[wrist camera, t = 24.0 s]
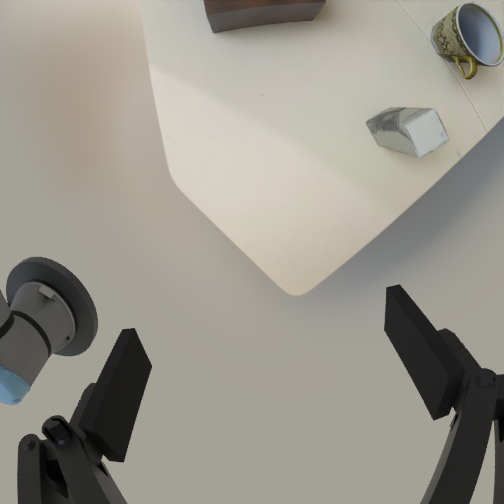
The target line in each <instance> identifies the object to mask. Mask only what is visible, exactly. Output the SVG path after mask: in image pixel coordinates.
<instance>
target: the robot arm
mask: <svg viewBox="0 0 504 504" xmlns="http://www.w3.org/2000/svg"><path fill="white" fill-rule="evenodd" d="M76 331H77V320H76V316H75V313H74V311H73V308H72V307H71V305H70V303H69V302H68V300H67V299H66V298H65V297H64V295H63V294H62V293H61V292H60V291H59V290H57V289H56V288H55V287H53V286H52V285H50V284H48V283H46V282H44V281H40V280H30V281H27V282H26V283H24V284H23V285H22V286H21V287H20V288H19V289H18V291H17V293H16V295H15V297H14V299H13V302H12V304H8V303H7V302H6V300H5V298H4V296H3V294H2V292H1V290H0V402H2V403H5V404H9V405H14V404H18V403H19V402H20V401H21V400H22V399H23V398H24V396H25V395H26V394H27V392H29V390H30V387H31V386H32V384H33V382H34V381H35V379H36V377H37V376H38V374H39V373H40V371H41V369H42V368H43V366H44V365H45V363H46V361H47V360H48V358H49V357H50V355H51V354H53V353H55V352H56V351H58V350H60V349H61V348H63V347H65V346H66V345H67V344H68V343H70V342H71V340H72V339H73V337H74V336H75V334H76ZM384 331H385V332H386V334H387V336H388V337H389V339H390V341H391V343H392V344H393V346H394V348H395V350H396V351H397V353H398V355H399V357H400V358H401V360H402V362H403V364H404V366H405V367H406V369H407V371H408V373H409V375H410V377H411V378H412V380H413V382H414V384H415V386H416V388H417V389H418V391H419V393H420V395H421V397H422V399H423V400H424V403H425V405H426V407H427V409H428V411H429V413H430V415H431V417H432V418H433V420H436V419H439V418H442V417H444V416H447V415H449V413H450V410H451V408H452V406H453V408H454V410H455V412H456V414H455V416H454V418H453V420H452V422H451V425H450V427H451V429H450V432H449V435H448V437H447V440H446V443H445V446H444V449H443V452H442V454H441V457H440V459H439V462H438V465H437V467H436V470H435V472H434V474H433V477H432V479H431V481H430V484H429V486H428V488H427V490H426V493H425V495H424V497H423V499H422V501H421V503H420V504H469V503H470V500H471V498H472V495H473V492H474V489H475V486H476V483H477V480H478V477H479V473H480V470H481V467H482V463H483V460H484V455H485V452H486V448H487V444H488V440H489V436H490V431H491V426H492V421H493V420H494V431H495V483H494V500H493V504H504V374H502V375H496V373H494V372H493V371H492V370H489V369H486V368H481V367H480V366H479V364H478V363H477V362H476V360H475V359H474V358H473V356H472V355H471V354H470V353H469V351H468V350H467V349H466V348H465V346H464V345H463V344H462V343H461V342H460V340H459V338H458V337H457V336H456V335H455V333H453V332H451V331H450V330H448V329H446V328H445V329H442V330H439V331H437V330H436V329H435V328H434V326H433V325H432V324H431V323H430V321H429V320H428V319H427V318H426V316H425V315H424V314H423V313H422V311H421V310H420V309H419V308H418V306H417V305H416V304H415V302H414V301H413V300H412V299H411V298H410V296H409V295H408V294H407V293H406V291H405V290H404V289H403V288H402V287H401V285H395V286H390V287H387V288H386V309H385V326H384ZM151 368H152V365H151V363H150V361H149V359H148V356H147V354H146V353H145V350H144V348H143V346H142V344H141V342H140V339H139V337H138V335H137V332H136V330H135V328H131V329H123V330H122V331H121V333H120V335H119V337H118V339H117V341H116V343H115V345H114V347H113V349H112V351H111V353H110V356H109V357H108V359H107V361H106V363H105V365H104V368H103V370H102V372H101V374H100V376H99V378H98V380H97V382H96V383H91V384H90V385H89V386H88V387H87V388H86V389H85V390H84V392H83V394H82V396H81V400H79V403H78V406H77V407H76V409H75V411H74V413H73V415H72V418H71V420H70V422H69V424H68V422H67V421H66V420H65V419H64V417H62V416H60V415H59V416H58V415H56V416H52V417H50V418H49V419H47V420H46V421H45V423H44V424H43V426H42V433H43V434H44V435H45V437H46V438H47V439H46V440H40V439H39V438H38V436H37V435H35V434H28V435H26V436H24V437H23V438H22V439H21V441H20V442H19V446H18V470H17V471H18V473H17V477H18V478H17V480H18V481H17V482H18V483H17V485H18V486H17V488H18V504H127V502H126V501H125V499H124V497H123V496H122V494H121V492H120V491H119V489H118V487H117V486H116V484H115V482H114V480H113V479H112V477H111V475H110V473H109V472H108V470H107V468H106V466H105V464H104V463H103V462H102V461H101V459H102V456H103V455H104V456H105V457H106V458H107V459H108V460H109V461H115V462H124V460H125V456H126V452H127V448H128V445H129V441H130V438H131V434H132V430H133V427H134V423H135V420H136V417H137V413H138V410H139V407H140V403H141V400H142V397H143V394H144V390H145V387H146V384H147V381H148V378H149V375H150V371H151Z"/></svg>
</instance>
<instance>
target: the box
mask: <svg viewBox="0 0 504 504" xmlns="http://www.w3.org/2000/svg"><path fill="white" fill-rule="evenodd" d="M366 123H367V125H368V127H369V129H370V131H371V133H372V135H373V136H374V138H375V140H376V142H377V143H378V145H379V146H382V147H386V148H389V149H392V150H396V151H399V152H402V153H406V154H409V155H412V156H415V157H418V158H422V157H424V156H426V155H427V154H429V153H431V152H432V151H434V150H435V149H437V148H438V147H440V146H441V145H443V144H444V143H446V142H447V141H449V137H448V135H447V133H446V130H445V128H444V126H443V124H442V121H441V119H440V117H439V115H438V113H437V111H436V109H432V108H389V109H387V110H385V111H383V112H381V113H379V114H378V115H376V116H374V117H373V118H371V119H369V120H368V121H366Z"/></svg>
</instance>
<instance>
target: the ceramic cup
mask: <svg viewBox="0 0 504 504" xmlns="http://www.w3.org/2000/svg"><path fill="white" fill-rule="evenodd" d="M431 41H432V43H433V45H434V47H435V49H436V51H437V53H438V54H439V55H440V56H442V57H443V58H445V59H447V60H448V61H454V62H456V63H457V65H458V67H459V69H460V72H461V74H462V76H463V77H464V78H465V79H468V80H469V79H471V78H473V77H474V76H475V74H476V72H477V65H482V66H497V65H499V64H500V63H501V62H502V61H503V59H504V36H503V33H502V31H501V28H500V26H499V25H498V23H497V21H496V20H495V18H494V17H493V16H492V15H491V14H490V13H489V12H488V11H487V10H486V9H485V8H484V7H482V6H481V5H479V4H477V3H474V2H465V3H462V4H461V5H459V6H458V7H456V8H455V9H453V10H452V11H451V12H450V13H449V14H448V15H447V16H446V17H444V18H443V19H442V20H441V21H439V22H438V23H437V24H436V25H435V26H433V30H432V35H431ZM460 62H463V63H470V73H469V74H468V76H465V74H464V71H463V68H462V67H461V65H460Z"/></svg>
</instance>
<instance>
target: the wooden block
mask: <svg viewBox="0 0 504 504" xmlns="http://www.w3.org/2000/svg"><path fill="white" fill-rule="evenodd" d="M325 3H326V1H325V0H204V5H205V10H206V15H207V18H208V21H209V23H210V26H211V29H212V32H213V33H216V32H221V31H226V30H232V29H238V28H244V27H251V26H258V25H266V24H275V23H285V22H297V21H312V20H313V19H314V18H315V16H316V15H317V14H318V12H319V11H320V9H321V8H322V7H323V5H324V4H325Z"/></svg>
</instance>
